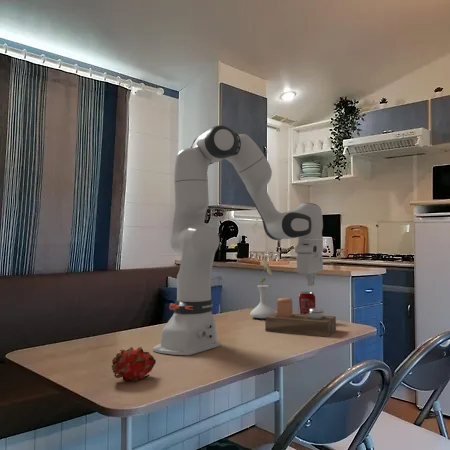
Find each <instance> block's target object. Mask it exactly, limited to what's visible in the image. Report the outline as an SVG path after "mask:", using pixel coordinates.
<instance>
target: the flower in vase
mask: <svg viewBox="0 0 450 450" xmlns="http://www.w3.org/2000/svg"><path fill="white" fill-rule="evenodd" d="M261 260H262V261H261V263H262V265H263V267H264V269H263V271H262V274H261V276H260V278H261V280H260V283H261V284H260V285H258V284H257V285H256V286H257V288H258V291H259V297H260V298H259V300H260V301H259V303H258V305H256V306H255V307H254V308H253V309H252V310H251V311H250V312H249V313H250V314H249V315H250V317H252V318H256V319H261V320H263V319H264V320H265V317H267V316H270V315H272V314H275V313H277V312H276V311H275V310H274V309H273V308H272V307H271V306H270V305H269V304H268V303H267V301H266V298H267V297H266V295H267V291H268V288H269V285H267V284H266V285H265V284H263V283H265V282H266V281H267V279H266V278H265V277H263V275H264V272H265V271H266V272H267V273H268V274H269V275H270V276H273V275H274V274H273V270H272V269H271V267H270V264H268V263H267V261H266V260H265V259H261Z"/></svg>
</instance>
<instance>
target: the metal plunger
mask: <svg viewBox="0 0 450 450" xmlns="http://www.w3.org/2000/svg"><path fill="white" fill-rule="evenodd" d="M324 316H325V310H324V308H321V307H320V308H319V307H315V308H310V309H309V319H316V320H323V319H324Z"/></svg>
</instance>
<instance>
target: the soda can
mask: <svg viewBox="0 0 450 450" xmlns="http://www.w3.org/2000/svg"><path fill="white" fill-rule="evenodd" d="M297 300H298V314H306V315H309V309H310V308H316V296H315V294H314V291H307V290H306V291H305V290H304V291H299V295H298V299H297Z"/></svg>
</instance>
